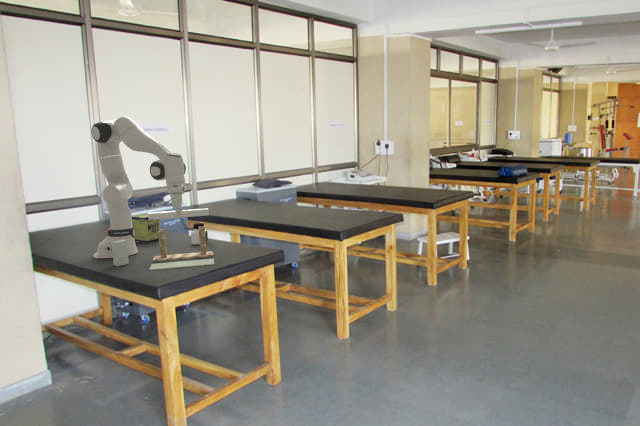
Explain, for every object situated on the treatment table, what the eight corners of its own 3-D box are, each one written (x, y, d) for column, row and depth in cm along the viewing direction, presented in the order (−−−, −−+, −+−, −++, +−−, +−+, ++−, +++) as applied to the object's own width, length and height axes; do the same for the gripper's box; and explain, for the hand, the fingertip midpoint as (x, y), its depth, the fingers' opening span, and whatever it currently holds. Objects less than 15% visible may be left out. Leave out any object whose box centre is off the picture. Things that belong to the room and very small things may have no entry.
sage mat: (149, 270, 242) (149, 269, 242) (151, 265, 252) (151, 263, 251) (214, 264, 248) (214, 263, 248) (213, 259, 258) (213, 258, 258)
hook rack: (153, 261, 258) (150, 232, 256) (154, 257, 266) (151, 229, 264) (213, 256, 265) (211, 228, 262) (213, 252, 272) (211, 225, 270)
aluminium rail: (148, 219, 242) (147, 213, 241) (149, 218, 245) (148, 212, 244) (208, 215, 248) (208, 209, 247) (208, 214, 250) (208, 208, 250)
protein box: (148, 243, 302) (146, 217, 299) (130, 241, 310) (128, 216, 307) (161, 239, 311) (159, 214, 308) (144, 237, 319) (141, 213, 316)
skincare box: (124, 262, 258) (122, 239, 256) (129, 264, 255) (127, 240, 253) (113, 265, 253) (110, 241, 251) (117, 266, 250) (115, 242, 248)
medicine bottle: (203, 244, 294) (201, 224, 292) (191, 244, 295) (190, 224, 293) (208, 241, 301) (206, 221, 299) (197, 241, 302) (195, 221, 300)
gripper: (170, 185, 253) (173, 213, 255) (168, 190, 233) (170, 219, 236) (183, 184, 254) (186, 212, 257) (182, 189, 235) (184, 218, 237)
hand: (178, 215), depth 246 cm, fingers closed on aluminium rail, 3 cm apart
